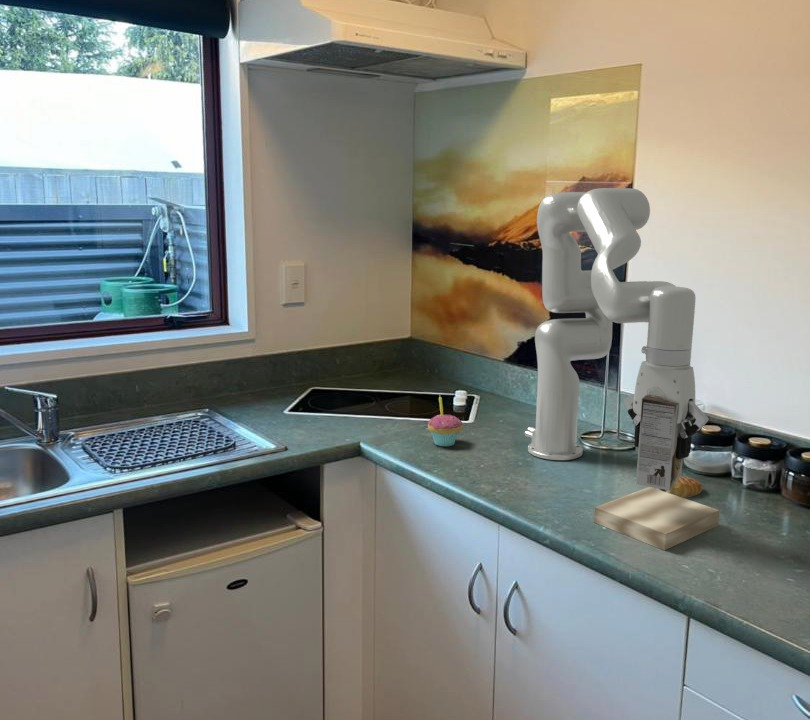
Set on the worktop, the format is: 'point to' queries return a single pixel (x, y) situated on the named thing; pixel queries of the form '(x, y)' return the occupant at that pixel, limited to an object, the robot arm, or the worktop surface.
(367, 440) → the worktop surface
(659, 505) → the birch base
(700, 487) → the pastry
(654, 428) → the coffee box
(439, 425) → the cupcake
